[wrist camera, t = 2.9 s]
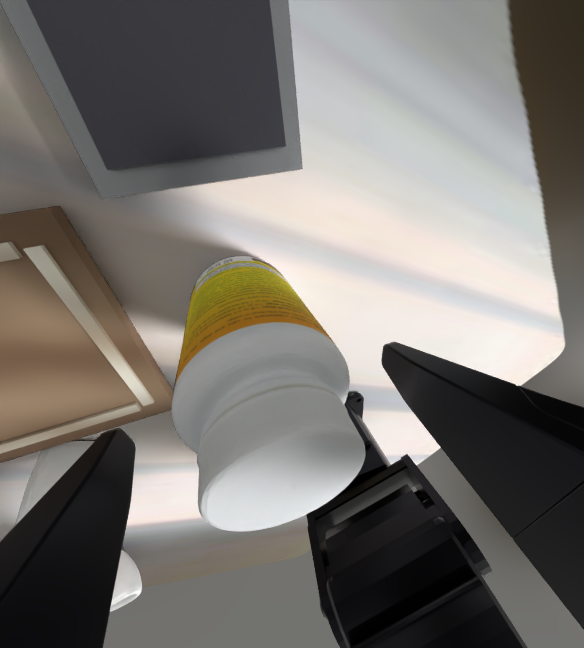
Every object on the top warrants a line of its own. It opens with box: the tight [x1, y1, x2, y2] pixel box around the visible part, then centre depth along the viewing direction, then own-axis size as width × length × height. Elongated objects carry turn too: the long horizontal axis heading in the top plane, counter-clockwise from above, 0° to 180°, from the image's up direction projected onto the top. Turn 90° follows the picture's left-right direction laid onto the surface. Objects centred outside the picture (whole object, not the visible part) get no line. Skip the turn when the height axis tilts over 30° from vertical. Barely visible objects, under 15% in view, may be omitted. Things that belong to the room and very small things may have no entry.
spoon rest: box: [16, 441, 142, 612], centre depth 17 cm, size 24×12×7 cm, turn 156°
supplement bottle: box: [172, 256, 365, 531], centre depth 9 cm, size 6×6×10 cm
